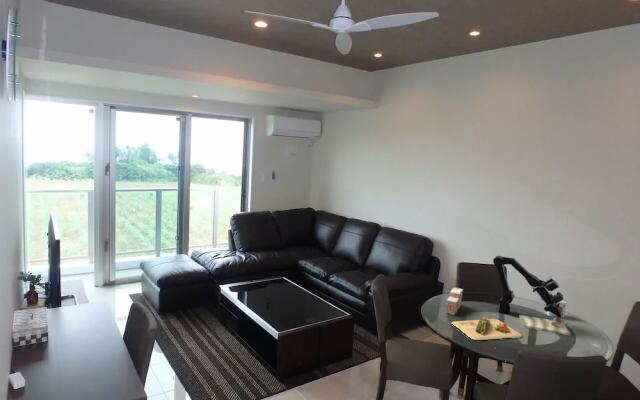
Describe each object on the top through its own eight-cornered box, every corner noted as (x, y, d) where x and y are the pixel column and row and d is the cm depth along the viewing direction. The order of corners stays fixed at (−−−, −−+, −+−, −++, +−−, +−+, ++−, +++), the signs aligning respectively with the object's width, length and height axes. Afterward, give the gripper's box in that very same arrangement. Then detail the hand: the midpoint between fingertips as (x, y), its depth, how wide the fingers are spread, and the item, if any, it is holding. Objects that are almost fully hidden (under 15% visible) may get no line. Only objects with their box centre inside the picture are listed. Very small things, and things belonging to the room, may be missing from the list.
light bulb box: (559, 313, 272) (562, 298, 270) (564, 317, 265) (567, 302, 264) (544, 312, 273) (546, 297, 271) (548, 316, 266) (550, 301, 265)
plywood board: (523, 327, 245) (524, 325, 245) (518, 316, 262) (519, 314, 261) (570, 335, 238) (570, 333, 238) (562, 324, 254) (562, 322, 254)
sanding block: (551, 324, 248) (553, 307, 246) (553, 321, 253) (556, 304, 251) (561, 328, 244) (564, 310, 242) (564, 324, 249) (567, 307, 247)
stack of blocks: (454, 315, 257) (456, 298, 256) (445, 313, 260) (446, 295, 259) (461, 305, 275) (463, 289, 274) (452, 303, 279) (454, 286, 277)
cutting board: (496, 321, 254) (497, 310, 253) (523, 338, 232) (525, 326, 231) (449, 324, 245) (451, 313, 244) (473, 342, 222) (474, 330, 221)
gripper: (552, 292, 241) (570, 315, 235) (559, 285, 255) (576, 307, 249) (536, 300, 247) (553, 322, 242) (544, 293, 261) (560, 314, 255)
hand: (561, 316), depth 247 cm, fingers closed on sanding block, 4 cm apart
